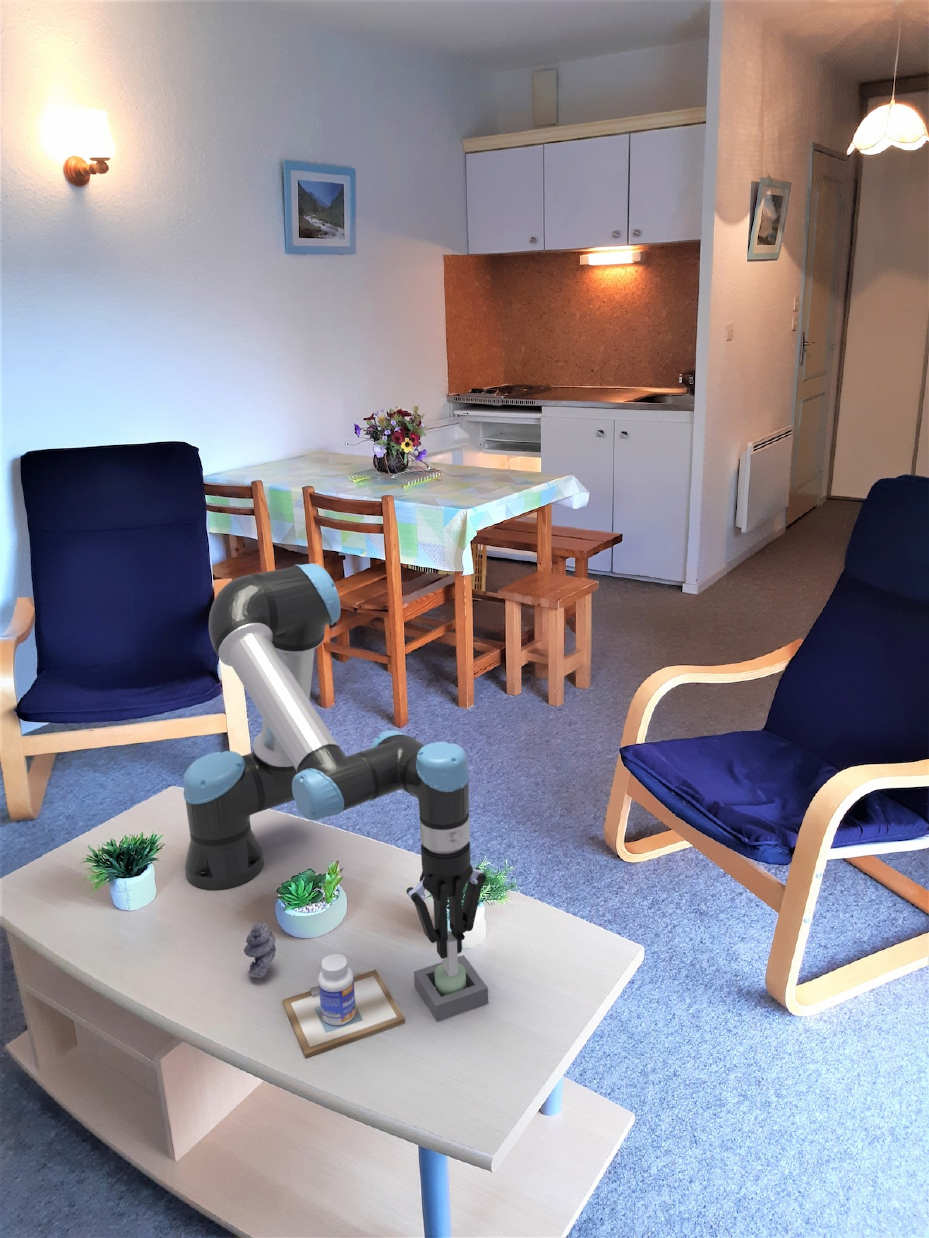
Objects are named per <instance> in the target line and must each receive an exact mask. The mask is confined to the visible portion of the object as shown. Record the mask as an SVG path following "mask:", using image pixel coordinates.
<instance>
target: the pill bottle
mask: <svg viewBox="0 0 929 1238" xmlns="http://www.w3.org/2000/svg"><path fill="white" fill-rule="evenodd" d="M320 966H321V968H320V969H321V971H320V973H319V974H318V979H317V980H318V986H319V994H320V1004H321V1014H322V1018H323V1020H324V1021H325V1022H326V1023H328V1024H331V1025H343V1024H345V1023H347V1022H349V1021H350V1020H352V1019H353V1017H354V1016H355V1013H356V1003H355V992H354V979H353V977H354V973H353V970H351V968H349V963H348V958H347V956H344V955H343V954H339V953H337V954H336V953H334V954H333V953H332V954H330V955H328V956H325V957H324V958H323V959H322V961H321V964H320Z"/></svg>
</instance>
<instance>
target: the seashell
mask: <svg viewBox="0 0 929 1238" xmlns="http://www.w3.org/2000/svg"><path fill="white" fill-rule="evenodd" d="M245 942H246V945H245V946H244V949H243V952H244V954H245V956H247V957H248V958H253V959H254V960H253V961H251V962H250V963H249V971H248V975H250V976H251V977H252V978H255V979H259V980H260V979H262V978H263V977H264V976H265V975H266V974H267V972H268V970H269V969H270V966H271V964H272V963H273V962H272V961H274V958H275V956H276V951H277V947H276V945H275V943H276V937H275V934H274V933H273V931H272V930H270V927H269V926H268V924H267V923H266V922H262V923H260V922H258V923H256V924H254V925H253V926H252V927H251V931H250V932H249V933H248V934H247V936H246V940H245Z"/></svg>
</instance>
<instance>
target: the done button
mask: <svg viewBox="0 0 929 1238" xmlns="http://www.w3.org/2000/svg"><path fill="white" fill-rule="evenodd" d="M466 988H467V987H466V970H465V967H464V966H463V965H462V964H460V963H458V975H455V976H452V977H449V976H448V974H447V973H446V971H445V970H444V968H443V964H440V965H438V966H437V967H436V969H435V989H436V990H437V992H438V993H439V995H440V996H441V997H443V996H445V995H448V994H451V993H454V992H457V991H460V990H463V989H466Z"/></svg>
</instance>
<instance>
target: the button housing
mask: <svg viewBox="0 0 929 1238" xmlns="http://www.w3.org/2000/svg"><path fill="white" fill-rule="evenodd" d="M457 959H458V963H460V964H462V965H463V966H464V967H465V970H466V989H463V990H460V991H457V992H454V993H451V994H448V995H445V996H443V997H441V996H440V995H439V993H438V992H437V990H436V989H435V969H436V967H437V966H438V965H440V964H442V961H441V962H438V963H435V964H433V965H429V966H426V967H423V968H420V969H417V970H415V971H413V979H414V989H416V992H417V993H418V995H420V997H421V999H422V1001H423V1002H424V1004H425V1005H426V1007H427V1008H428V1010H429V1012H430V1013H431V1016H432V1017H433V1018H434V1019H435V1022H441V1021H443V1020H446V1019H449V1018H452V1017H454V1016H457V1015H461V1014H463V1013H465V1012H467V1011H470V1010H474V1009H477V1008H480V1007H482V1006H485V1005H488V1004H489V987H488V985H487V984H486V983H485V981H484V980H483V979H482V978H481V976H480V975H479V973H478V972H477V971H476V969H475V968H474V967H473V965H472V964H471V963H470V962H469V960H468V959H467V958H466V956H465V955H464V954H462V955H459V956H457Z"/></svg>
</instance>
